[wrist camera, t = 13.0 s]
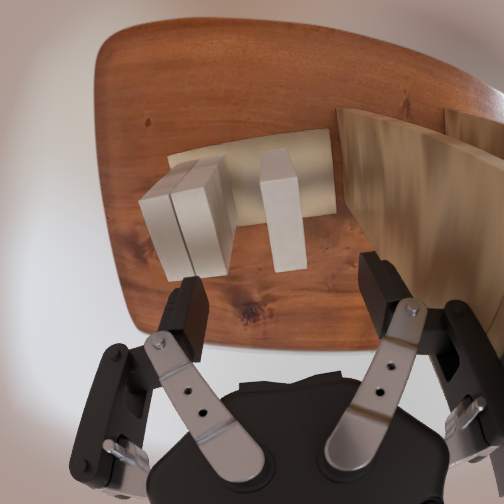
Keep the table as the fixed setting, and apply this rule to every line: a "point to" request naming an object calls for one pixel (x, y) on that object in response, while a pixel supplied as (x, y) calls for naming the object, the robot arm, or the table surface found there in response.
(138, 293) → the table surface
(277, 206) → the white book
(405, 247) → the wooden stand
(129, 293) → the table surface
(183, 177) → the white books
